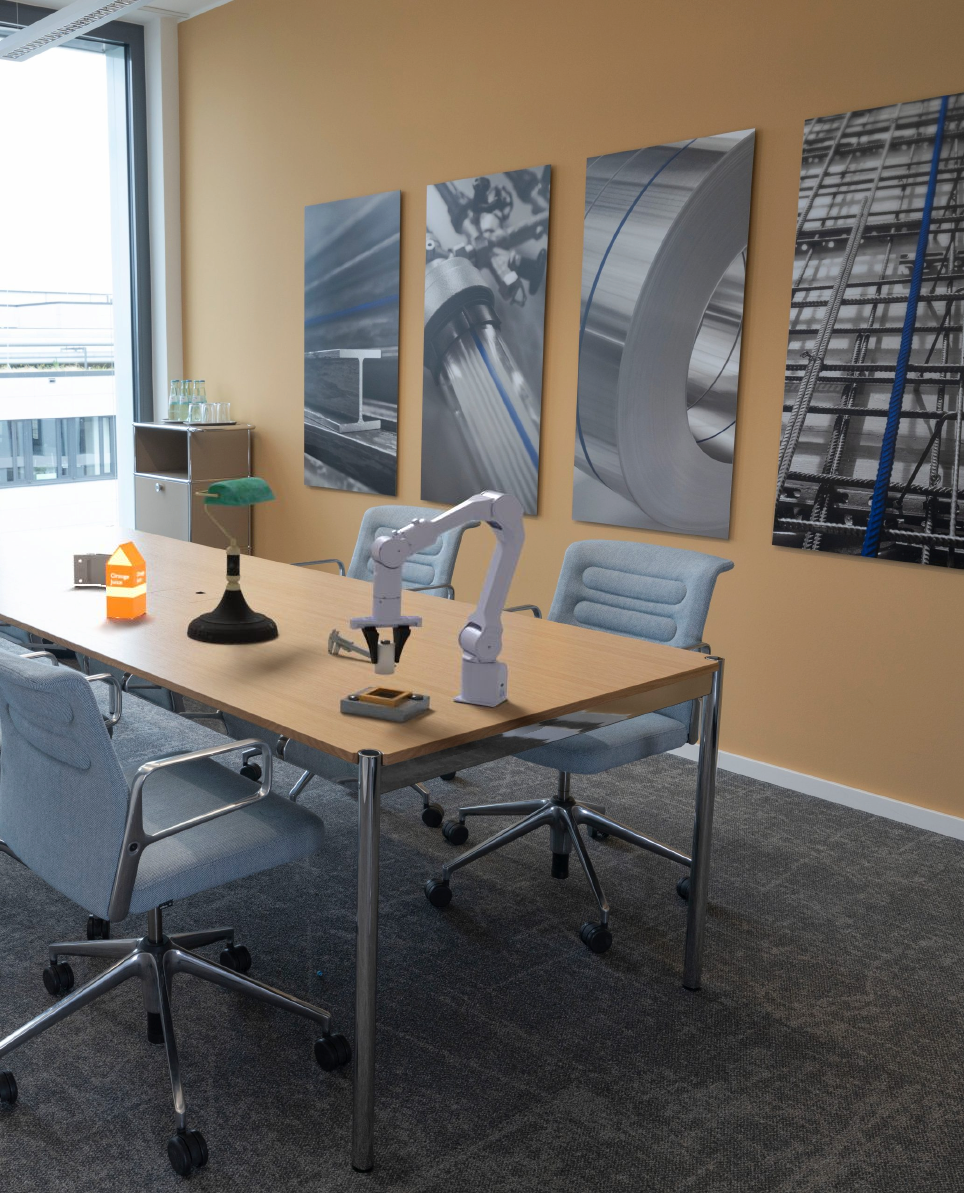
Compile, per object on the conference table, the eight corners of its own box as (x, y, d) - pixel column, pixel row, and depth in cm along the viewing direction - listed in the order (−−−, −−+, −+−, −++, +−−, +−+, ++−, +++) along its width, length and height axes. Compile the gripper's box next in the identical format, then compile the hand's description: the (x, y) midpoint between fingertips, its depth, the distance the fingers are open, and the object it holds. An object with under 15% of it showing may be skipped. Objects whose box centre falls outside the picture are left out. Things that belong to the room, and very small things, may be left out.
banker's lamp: (254, 648, 268) (255, 485, 260) (167, 640, 272) (166, 479, 265) (293, 627, 293) (296, 478, 286) (213, 620, 298) (214, 473, 290)
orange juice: (146, 613, 303) (146, 541, 299) (133, 619, 294) (132, 545, 291) (119, 611, 304) (118, 540, 300) (105, 617, 295) (104, 544, 292)
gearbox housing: (429, 707, 223) (430, 691, 223) (402, 722, 212) (403, 705, 212) (369, 698, 229) (369, 681, 228) (340, 711, 218) (340, 695, 217)
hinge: (73, 587, 336) (72, 555, 335) (78, 584, 342) (77, 552, 340) (119, 588, 338) (118, 556, 336) (123, 585, 343) (123, 554, 341)
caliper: (327, 653, 267) (328, 628, 266) (330, 653, 268) (331, 628, 267) (393, 668, 256) (394, 641, 255) (396, 667, 257) (397, 641, 256)
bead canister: (397, 671, 222) (398, 640, 221) (388, 675, 219) (389, 643, 218) (380, 669, 224) (381, 637, 223) (370, 673, 220) (371, 641, 219)
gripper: (415, 592, 225) (413, 656, 227) (346, 593, 219) (345, 659, 222) (426, 598, 218) (423, 664, 221) (355, 600, 213) (354, 667, 215)
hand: (385, 662), depth 221 cm, fingers closed on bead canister, 4 cm apart
